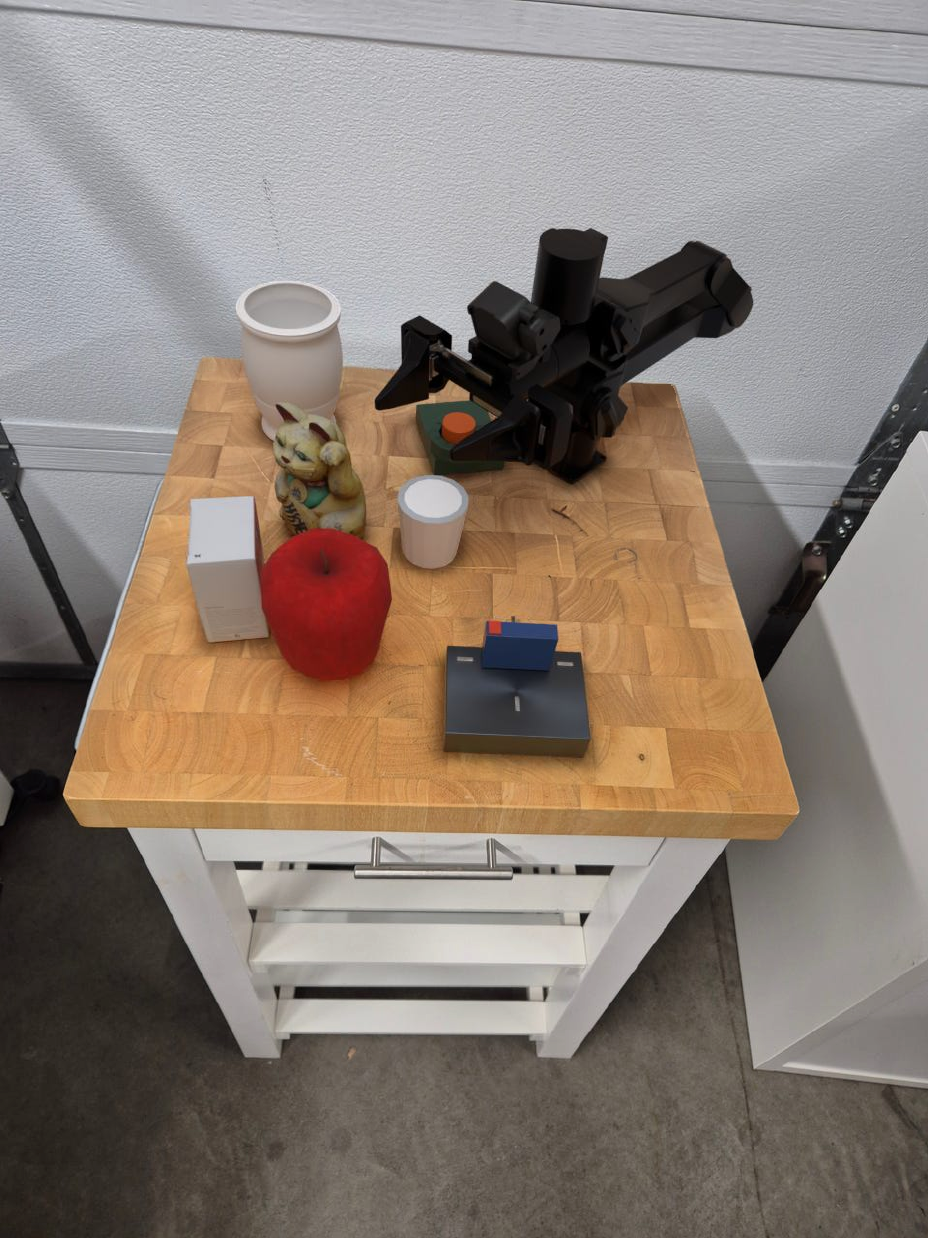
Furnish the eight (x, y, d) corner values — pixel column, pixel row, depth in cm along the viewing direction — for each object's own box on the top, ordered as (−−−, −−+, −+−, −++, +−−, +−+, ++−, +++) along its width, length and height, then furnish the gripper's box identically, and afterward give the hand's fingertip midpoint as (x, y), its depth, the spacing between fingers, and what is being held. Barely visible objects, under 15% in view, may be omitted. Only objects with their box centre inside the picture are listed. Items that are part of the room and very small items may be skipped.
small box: (269, 639, 74) (256, 560, 66) (206, 644, 73) (184, 564, 65) (268, 574, 79) (255, 493, 71) (208, 578, 78) (189, 496, 70)
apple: (272, 708, 70) (254, 606, 59) (271, 616, 76) (254, 509, 66) (395, 697, 71) (398, 596, 61) (384, 608, 78) (385, 503, 67)
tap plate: (571, 640, 77) (578, 619, 75) (584, 757, 69) (591, 738, 67) (445, 634, 76) (447, 612, 74) (443, 751, 68) (445, 732, 66)
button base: (413, 420, 96) (414, 392, 93) (480, 414, 98) (483, 386, 95) (433, 482, 90) (435, 454, 86) (505, 475, 91) (509, 447, 88)
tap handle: (548, 656, 72) (557, 622, 68) (549, 671, 71) (559, 637, 67) (480, 652, 71) (486, 618, 68) (481, 667, 70) (486, 633, 67)
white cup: (455, 579, 81) (461, 529, 75) (388, 565, 81) (389, 514, 76) (469, 532, 85) (475, 481, 80) (405, 519, 86) (407, 467, 80)
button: (438, 426, 90) (439, 413, 89) (469, 423, 91) (471, 410, 90) (445, 447, 88) (446, 434, 87) (477, 444, 89) (479, 431, 87)
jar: (363, 421, 95) (361, 302, 84) (306, 468, 89) (296, 346, 78) (292, 387, 98) (281, 268, 87) (233, 430, 92) (212, 307, 81)
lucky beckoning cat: (264, 530, 83) (245, 407, 71) (316, 487, 88) (306, 365, 76) (339, 572, 80) (332, 451, 69) (389, 525, 85) (390, 405, 73)
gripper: (467, 236, 74) (332, 295, 66) (632, 320, 66) (500, 398, 58) (462, 346, 82) (342, 409, 75) (607, 432, 74) (490, 512, 67)
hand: (412, 429), depth 68 cm, fingers open, 9 cm apart
